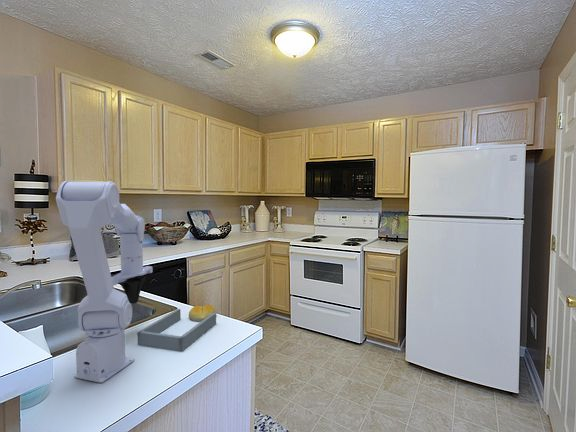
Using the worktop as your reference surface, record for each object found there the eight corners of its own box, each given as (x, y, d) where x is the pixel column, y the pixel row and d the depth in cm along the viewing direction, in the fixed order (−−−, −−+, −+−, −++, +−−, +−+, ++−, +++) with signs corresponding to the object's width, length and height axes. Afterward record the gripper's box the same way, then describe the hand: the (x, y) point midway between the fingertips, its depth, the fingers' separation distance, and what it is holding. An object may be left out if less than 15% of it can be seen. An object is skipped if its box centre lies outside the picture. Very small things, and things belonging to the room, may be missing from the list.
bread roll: (190, 313, 105) (190, 302, 105) (216, 312, 106) (216, 301, 106) (186, 323, 97) (186, 311, 96) (215, 321, 98) (215, 309, 98)
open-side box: (182, 351, 79) (182, 338, 78) (137, 344, 82) (137, 332, 82) (216, 323, 96) (216, 312, 96) (177, 319, 100) (177, 308, 99)
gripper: (123, 262, 80) (124, 313, 80) (160, 253, 94) (161, 296, 94) (101, 261, 82) (103, 310, 82) (141, 252, 95) (142, 294, 96)
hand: (133, 302), depth 88 cm, fingers closed
